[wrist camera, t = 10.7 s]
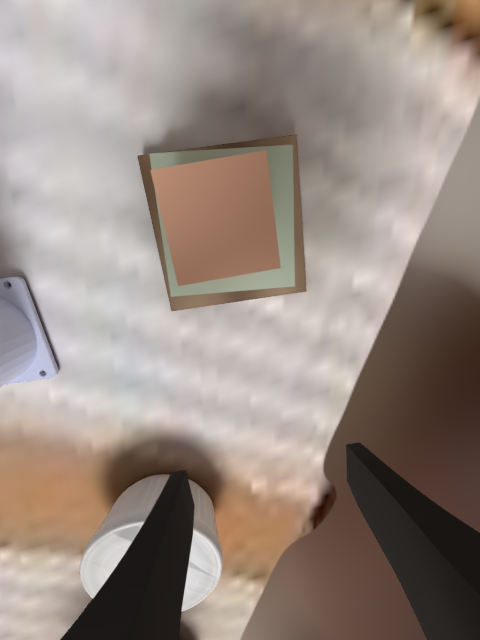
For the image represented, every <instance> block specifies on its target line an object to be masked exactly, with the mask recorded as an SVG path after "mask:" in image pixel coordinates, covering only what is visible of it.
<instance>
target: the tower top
mask: <svg viewBox="0 0 480 640" xmlns="http://www.w3.org/2000/svg"><path fill="white" fill-rule="evenodd" d="M264 150H266V151H267V159H268V167H269V175H270V183H271V191H272V200H273V208H274V216H275V224H276V232H277V240H278V248H279V257H280V265H281V268H278V269H272V270H267V271H261V272H256V273H250V274H244V275H239V276H233V277H228V278H222V279H217V280H211V281H205V282H200V283H194V284H189V285H183V286H178V283H177V279H176V275H175V271H174V267H173V263H172V258H171V254H170V250H169V246H168V242H167V238H166V233H165V229H164V225H163V221H162V217H161V213H160V208H159V204H158V200H157V196H156V201H157V208H158V214H159V221H160V227H161V234H162V241H163V247H164V254H165V260H166V267H167V274H168V280H169V287H170V293H171V297H174V296H186V295H198V294H210V293H222V292H234V291H246V290H258V289H270V288H282V287H294V286H295V255H294V187H293V145H278V146H262V147H246V148H229V149H213V150H197V151H181V152H164V153H149V155H150V161H151V168H152V170H153V169H159V168H165V167H171V166H176V165H182V164H188V163H194V162H200V161H205V160H211V159H217V158H223V157H229V156H235V155H240V154H246V153H252V152H258V151H264ZM155 194H156V192H155Z"/></svg>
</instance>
